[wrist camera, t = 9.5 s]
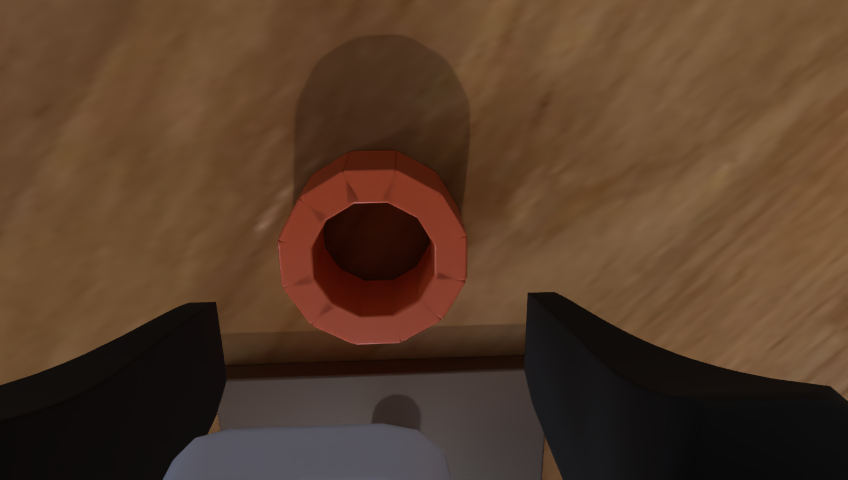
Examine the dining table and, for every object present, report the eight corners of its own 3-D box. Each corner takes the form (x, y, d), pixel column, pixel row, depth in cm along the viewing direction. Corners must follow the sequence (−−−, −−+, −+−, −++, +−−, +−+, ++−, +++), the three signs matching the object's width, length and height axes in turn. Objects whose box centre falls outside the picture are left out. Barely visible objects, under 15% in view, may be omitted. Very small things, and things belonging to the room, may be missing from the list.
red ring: (339, 119, 19) (330, 134, 16) (488, 199, 20) (502, 225, 17) (267, 262, 21) (248, 297, 18) (409, 329, 22) (411, 371, 19)
